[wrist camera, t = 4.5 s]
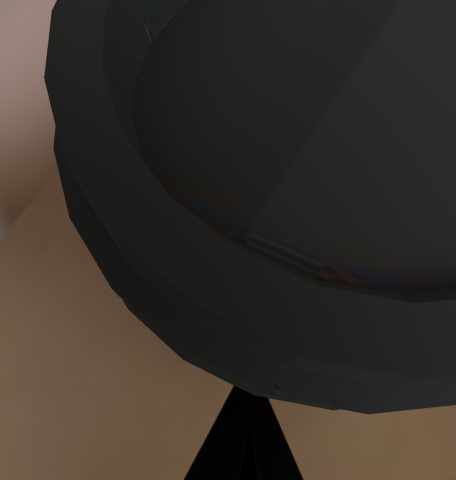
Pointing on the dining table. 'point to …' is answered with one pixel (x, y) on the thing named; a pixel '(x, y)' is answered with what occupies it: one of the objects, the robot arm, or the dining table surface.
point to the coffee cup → (271, 186)
